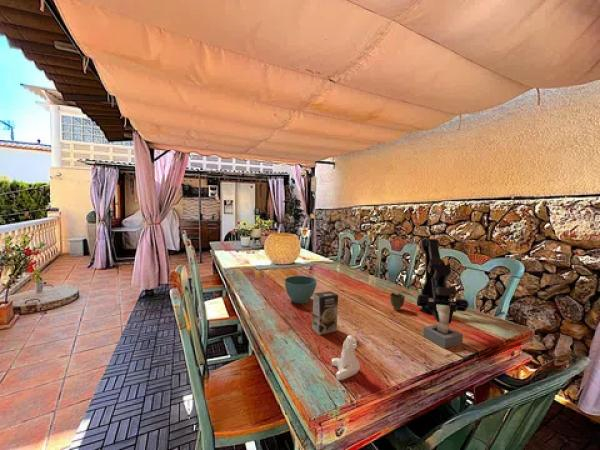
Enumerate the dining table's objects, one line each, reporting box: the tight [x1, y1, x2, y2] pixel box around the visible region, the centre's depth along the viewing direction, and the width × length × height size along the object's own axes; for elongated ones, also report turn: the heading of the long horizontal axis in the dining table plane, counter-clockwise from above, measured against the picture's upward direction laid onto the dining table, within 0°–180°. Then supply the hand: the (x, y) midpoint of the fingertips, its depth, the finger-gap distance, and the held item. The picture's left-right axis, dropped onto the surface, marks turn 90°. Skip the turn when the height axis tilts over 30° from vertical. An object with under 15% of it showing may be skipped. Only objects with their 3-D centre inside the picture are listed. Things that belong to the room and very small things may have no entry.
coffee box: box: [311, 291, 339, 336], centre depth 112 cm, size 9×6×16 cm
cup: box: [389, 292, 406, 311], centre depth 138 cm, size 8×7×8 cm
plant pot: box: [284, 275, 317, 304], centre depth 148 cm, size 18×18×12 cm
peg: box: [436, 305, 450, 335], centre depth 106 cm, size 4×4×12 cm
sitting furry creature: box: [331, 334, 361, 381], centre depth 84 cm, size 10×9×12 cm
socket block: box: [422, 324, 464, 349], centre depth 106 cm, size 10×10×4 cm
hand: (444, 322), depth 104 cm, fingers closed on peg, 4 cm apart
